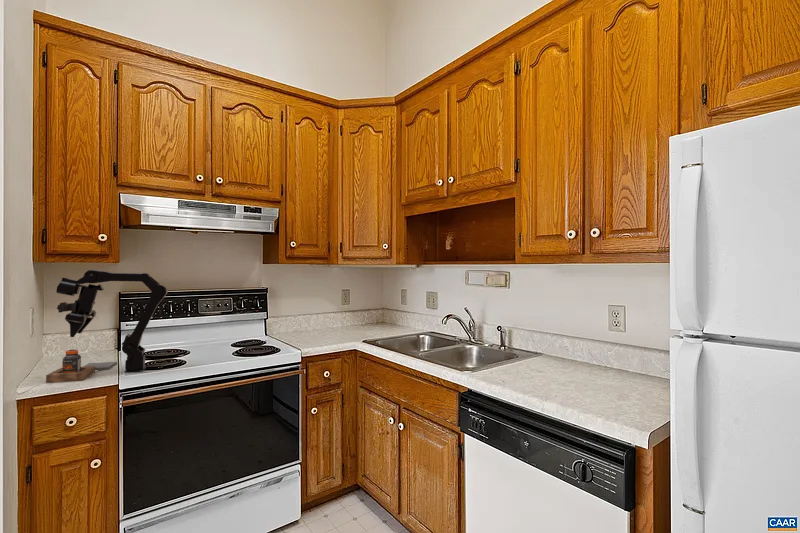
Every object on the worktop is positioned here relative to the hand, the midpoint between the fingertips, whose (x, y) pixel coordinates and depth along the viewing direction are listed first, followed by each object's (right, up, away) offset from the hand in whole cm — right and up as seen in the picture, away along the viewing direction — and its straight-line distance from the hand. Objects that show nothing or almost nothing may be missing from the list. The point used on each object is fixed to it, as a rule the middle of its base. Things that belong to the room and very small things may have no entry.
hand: (75, 335), depth 172 cm
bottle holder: (+2, -17, -4) cm, 17 cm away
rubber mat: (+1, -17, +12) cm, 21 cm away
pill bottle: (+2, -17, -4) cm, 18 cm away
